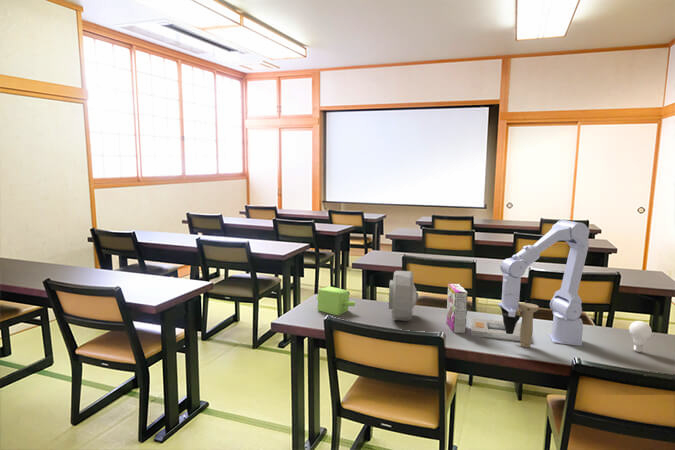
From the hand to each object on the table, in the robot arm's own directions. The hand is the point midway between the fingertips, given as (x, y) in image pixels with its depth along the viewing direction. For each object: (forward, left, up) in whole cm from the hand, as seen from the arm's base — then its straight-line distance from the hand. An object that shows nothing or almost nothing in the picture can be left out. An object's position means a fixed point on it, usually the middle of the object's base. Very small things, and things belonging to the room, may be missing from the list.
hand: (508, 329), depth 154 cm
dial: (+39, -14, -6) cm, 42 cm away
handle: (-6, 0, -6) cm, 8 cm away
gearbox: (+68, -15, -6) cm, 70 cm away
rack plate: (+2, -11, -5) cm, 12 cm away
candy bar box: (+18, -10, -6) cm, 21 cm away
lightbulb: (-43, -7, -6) cm, 44 cm away
